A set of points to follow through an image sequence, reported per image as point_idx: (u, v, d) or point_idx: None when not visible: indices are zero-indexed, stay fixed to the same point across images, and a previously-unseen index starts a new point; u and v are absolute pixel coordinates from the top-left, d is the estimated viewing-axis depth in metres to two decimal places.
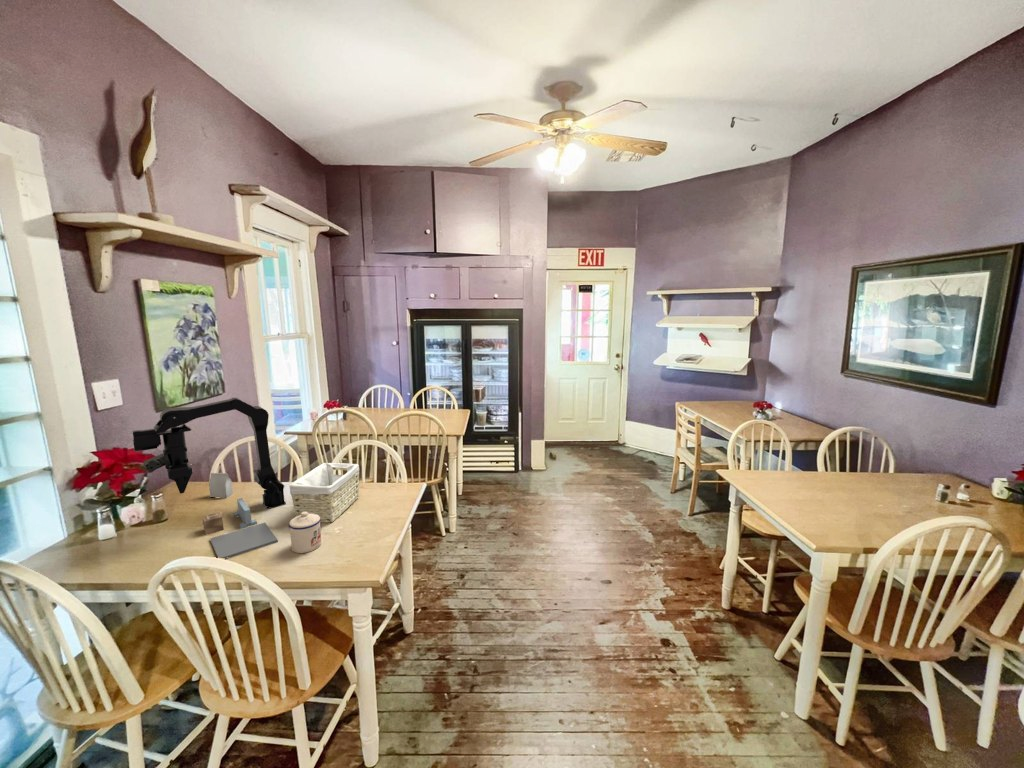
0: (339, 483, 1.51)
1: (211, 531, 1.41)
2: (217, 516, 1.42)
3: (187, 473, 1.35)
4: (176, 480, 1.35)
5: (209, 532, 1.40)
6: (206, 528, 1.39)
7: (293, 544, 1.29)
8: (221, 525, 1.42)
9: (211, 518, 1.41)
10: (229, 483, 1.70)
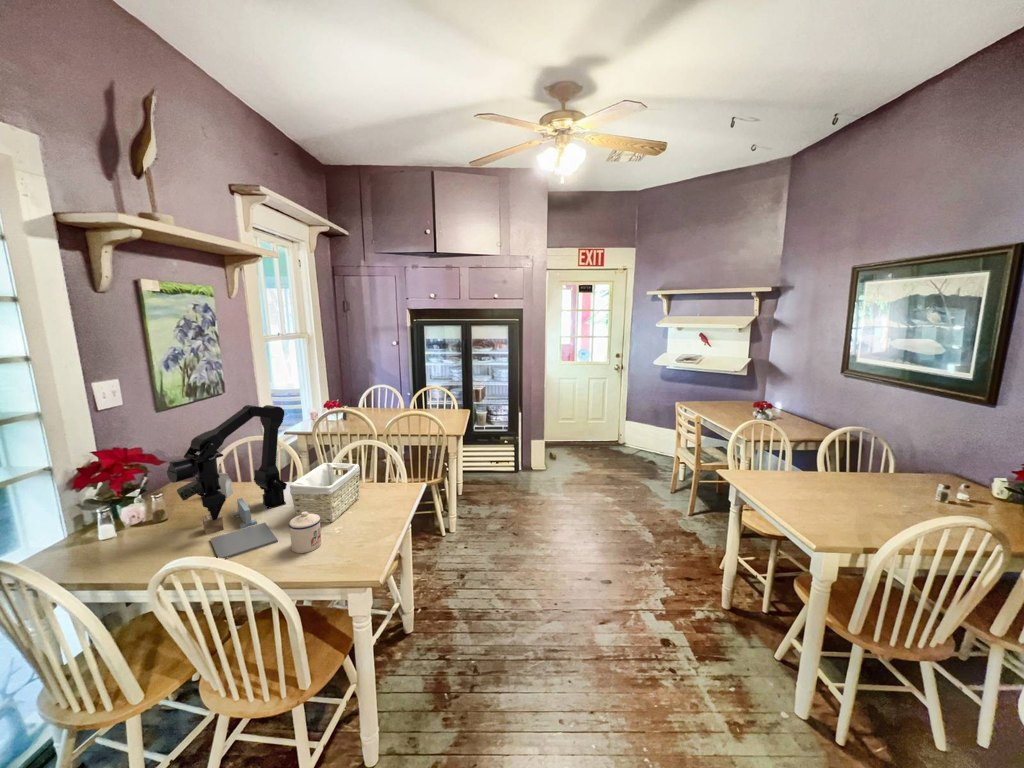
0: (339, 483, 1.51)
1: (211, 531, 1.41)
2: None
3: (221, 501, 1.36)
4: (209, 507, 1.36)
5: (209, 532, 1.40)
6: (206, 528, 1.39)
7: (293, 544, 1.29)
8: (221, 525, 1.42)
9: (211, 518, 1.41)
10: (229, 483, 1.70)
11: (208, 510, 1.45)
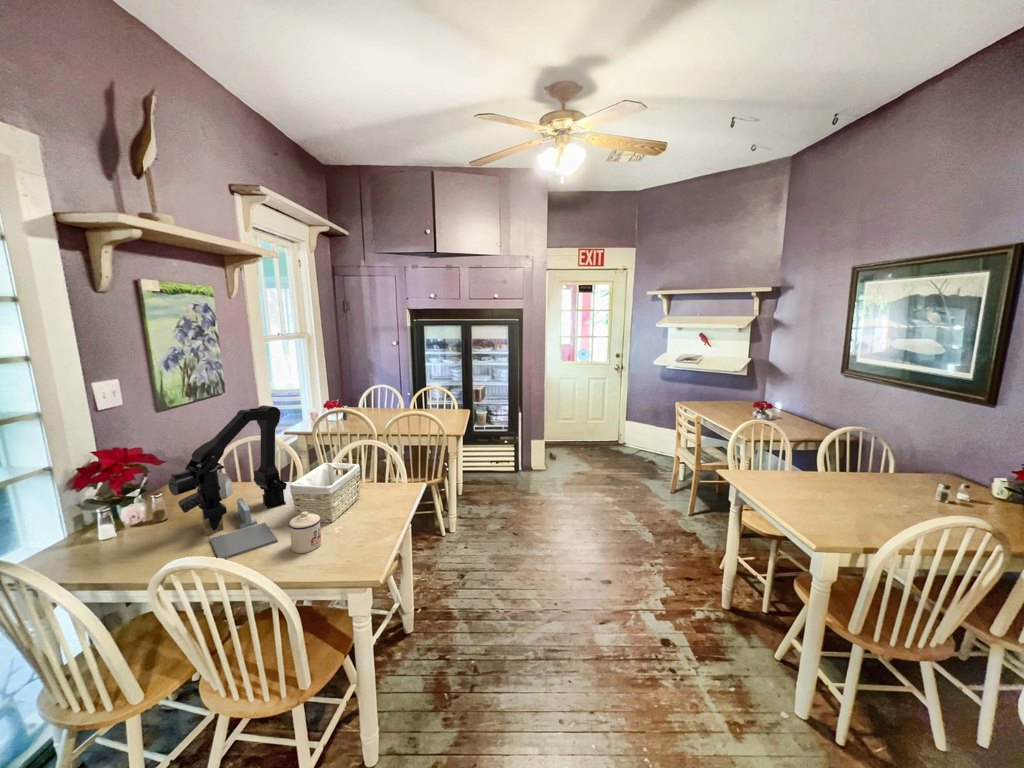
0: (339, 483, 1.51)
1: (211, 531, 1.41)
2: None
3: (222, 513, 1.36)
4: (210, 518, 1.38)
5: (209, 532, 1.40)
6: (206, 528, 1.39)
7: (293, 544, 1.29)
8: (221, 525, 1.42)
9: None
10: (229, 483, 1.70)
11: None
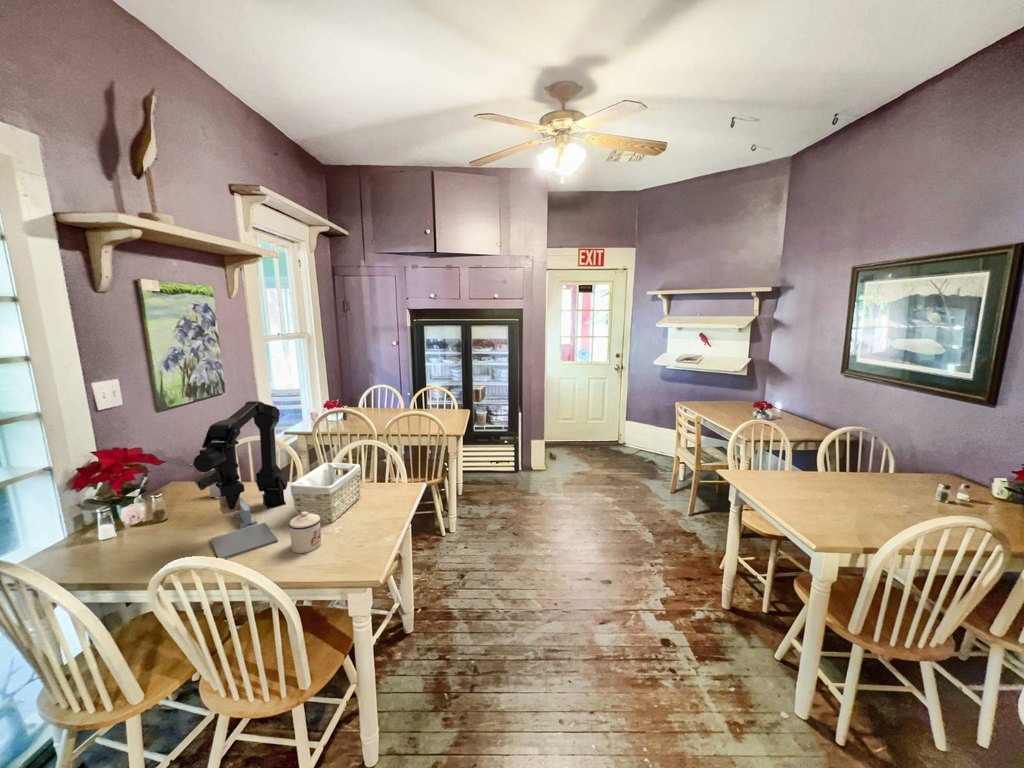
0: (339, 483, 1.51)
1: (228, 510, 1.33)
2: None
3: (239, 491, 1.29)
4: (227, 496, 1.31)
5: (225, 511, 1.33)
6: (222, 507, 1.32)
7: (293, 544, 1.29)
8: (238, 504, 1.35)
9: None
10: None
11: None
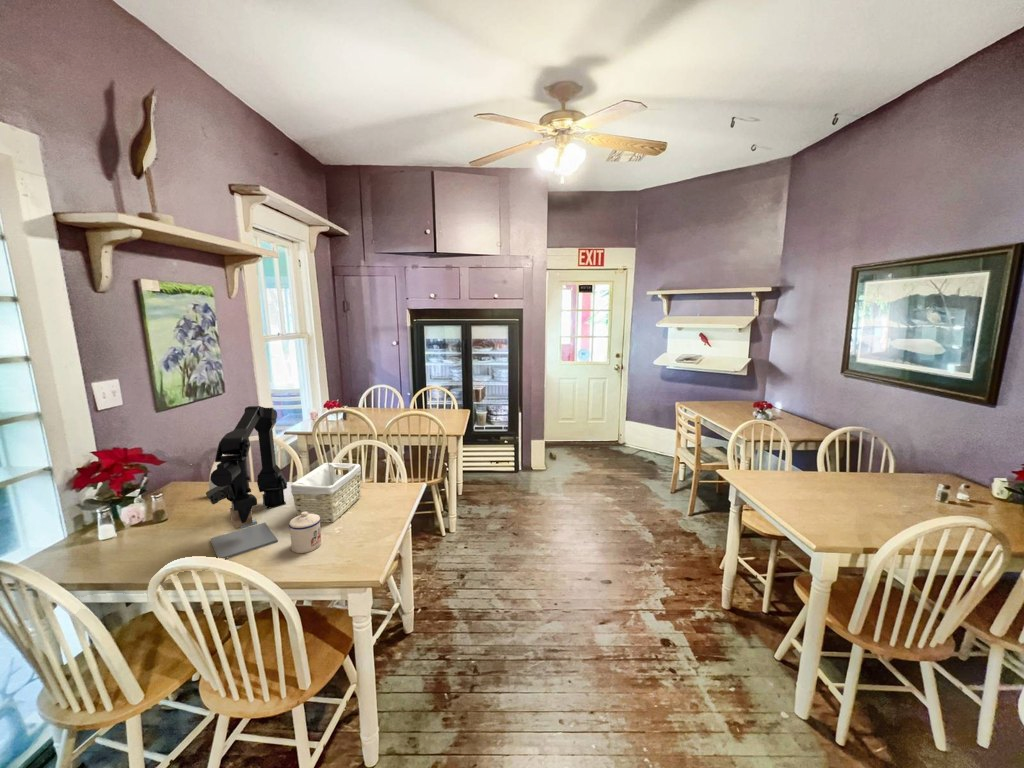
0: (340, 483, 1.51)
1: (240, 524, 1.32)
2: None
3: (252, 504, 1.28)
4: (239, 510, 1.30)
5: (238, 525, 1.32)
6: (234, 520, 1.31)
7: (293, 544, 1.29)
8: (250, 517, 1.34)
9: None
10: None
11: None
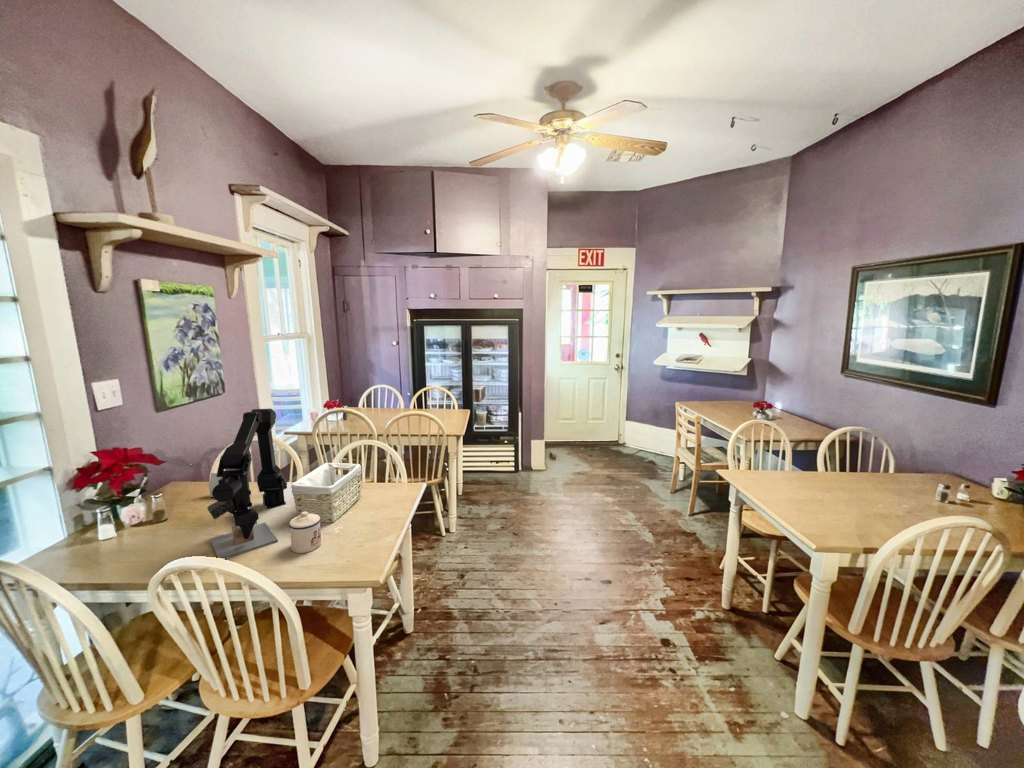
0: (340, 483, 1.51)
1: (241, 540, 1.33)
2: None
3: (253, 519, 1.29)
4: (242, 526, 1.29)
5: (239, 541, 1.33)
6: (236, 537, 1.32)
7: (293, 544, 1.29)
8: (251, 534, 1.35)
9: None
10: None
11: None
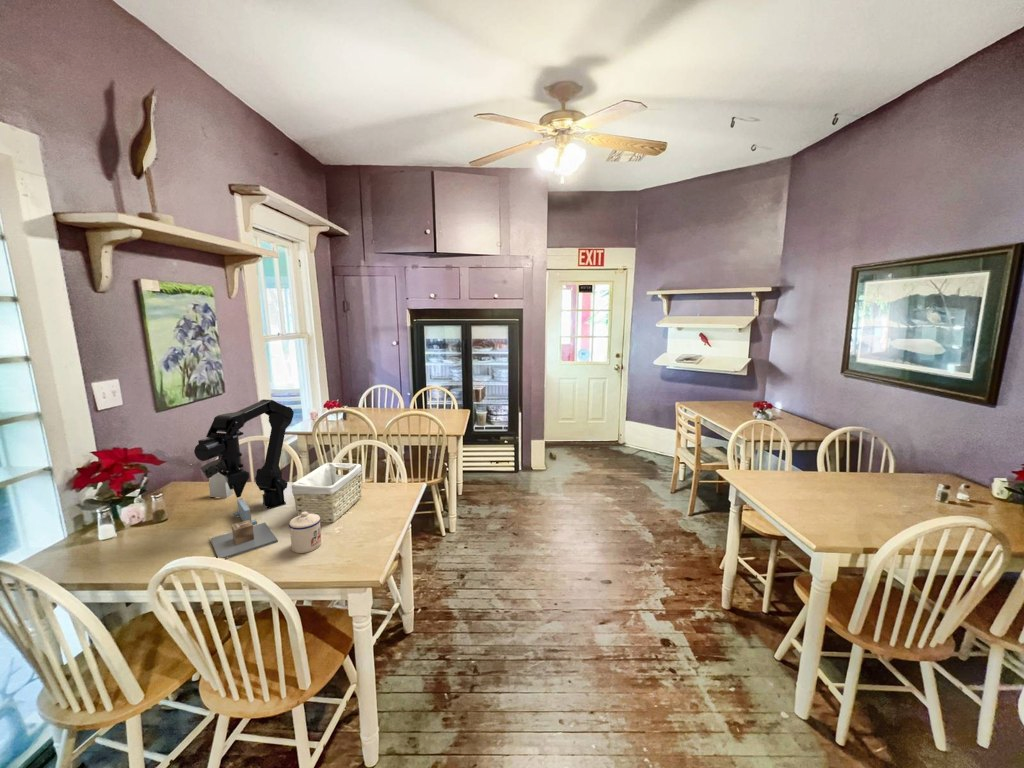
0: (340, 483, 1.51)
1: (241, 540, 1.33)
2: (247, 524, 1.35)
3: (245, 478, 1.38)
4: (234, 485, 1.38)
5: (239, 541, 1.33)
6: (236, 537, 1.32)
7: (293, 544, 1.29)
8: (251, 534, 1.35)
9: (241, 527, 1.33)
10: None
11: (230, 488, 1.47)
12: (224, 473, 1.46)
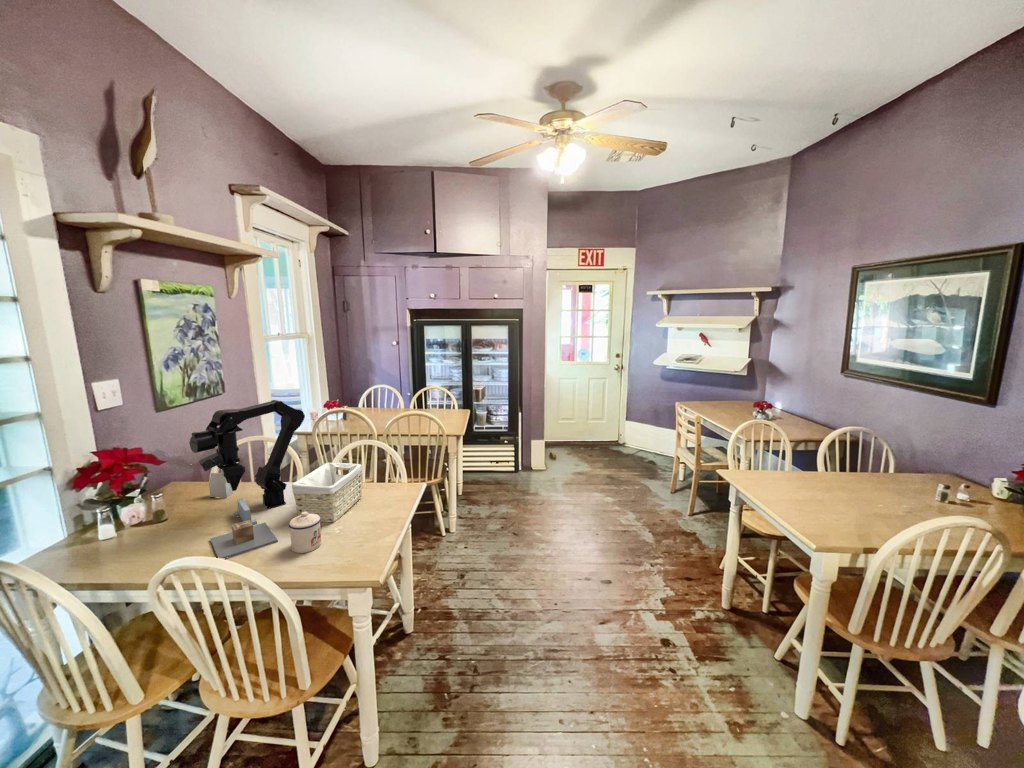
0: (341, 483, 1.51)
1: (241, 540, 1.33)
2: (247, 524, 1.35)
3: (240, 471, 1.42)
4: (230, 478, 1.43)
5: (239, 541, 1.33)
6: (236, 537, 1.32)
7: (293, 544, 1.29)
8: (251, 534, 1.35)
9: (241, 527, 1.33)
10: None
11: (227, 482, 1.51)
12: (222, 467, 1.50)
